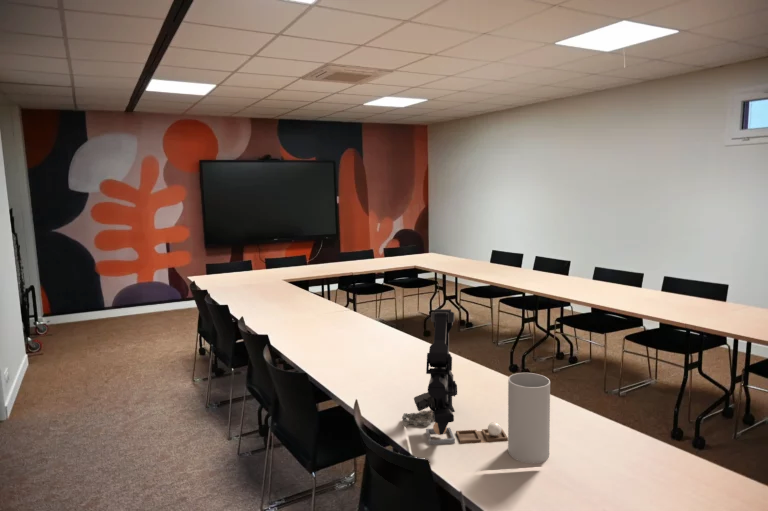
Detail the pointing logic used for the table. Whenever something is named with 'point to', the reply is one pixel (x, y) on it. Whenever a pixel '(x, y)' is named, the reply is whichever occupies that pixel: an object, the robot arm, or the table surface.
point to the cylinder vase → (528, 417)
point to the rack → (479, 436)
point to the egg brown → (437, 429)
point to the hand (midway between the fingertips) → (440, 430)
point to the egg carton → (413, 418)
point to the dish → (440, 441)
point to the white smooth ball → (494, 429)
